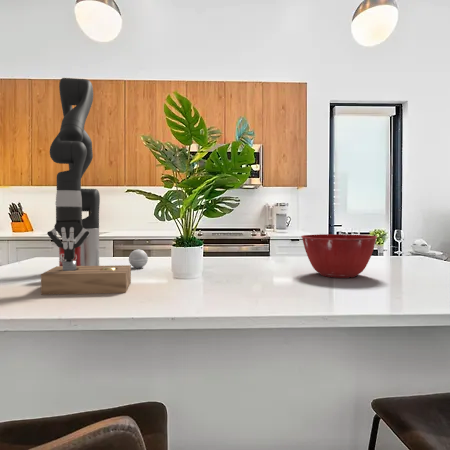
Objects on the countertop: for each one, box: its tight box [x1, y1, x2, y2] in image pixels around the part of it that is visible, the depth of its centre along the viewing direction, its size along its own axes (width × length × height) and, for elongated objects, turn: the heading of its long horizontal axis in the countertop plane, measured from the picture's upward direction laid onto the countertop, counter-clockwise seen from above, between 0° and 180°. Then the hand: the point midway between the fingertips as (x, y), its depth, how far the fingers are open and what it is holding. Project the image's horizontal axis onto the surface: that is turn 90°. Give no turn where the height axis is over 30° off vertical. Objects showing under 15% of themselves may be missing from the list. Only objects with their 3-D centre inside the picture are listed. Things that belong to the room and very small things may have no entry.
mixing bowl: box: [301, 233, 378, 279], centre depth 152 cm, size 28×28×16 cm
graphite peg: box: [63, 260, 76, 271], centre depth 122 cm, size 4×4×6 cm
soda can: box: [58, 246, 81, 266], centre depth 139 cm, size 7×7×12 cm
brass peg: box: [103, 267, 116, 270], centre depth 124 cm, size 4×4×6 cm
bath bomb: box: [128, 248, 149, 269], centre depth 167 cm, size 8×8×8 cm
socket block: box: [40, 264, 132, 296], centre depth 123 cm, size 16×24×6 cm, turn 98°
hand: (69, 261), depth 122 cm, fingers closed
